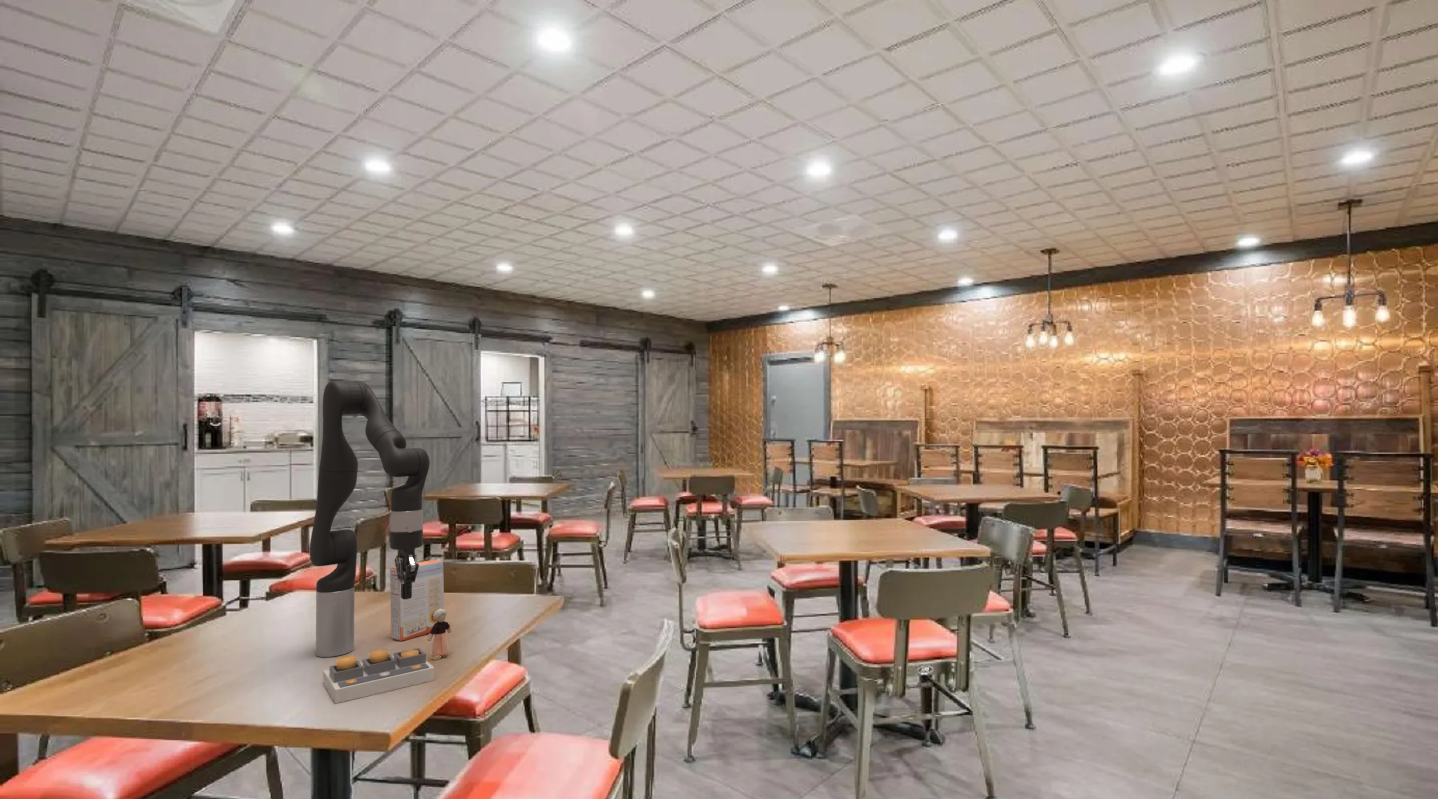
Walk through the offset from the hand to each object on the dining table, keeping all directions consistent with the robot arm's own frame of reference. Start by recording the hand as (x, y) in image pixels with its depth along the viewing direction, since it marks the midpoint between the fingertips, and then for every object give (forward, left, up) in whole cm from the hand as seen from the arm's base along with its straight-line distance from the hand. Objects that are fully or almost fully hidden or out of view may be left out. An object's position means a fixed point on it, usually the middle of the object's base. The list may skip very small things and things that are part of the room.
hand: (406, 598), depth 167 cm
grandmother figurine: (-9, +11, -19) cm, 24 cm away
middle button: (0, -6, -14) cm, 15 cm away
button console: (0, -6, -19) cm, 20 cm away
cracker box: (-35, +12, -19) cm, 41 cm away
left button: (0, -13, -14) cm, 19 cm away
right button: (0, +1, -15) cm, 15 cm away
